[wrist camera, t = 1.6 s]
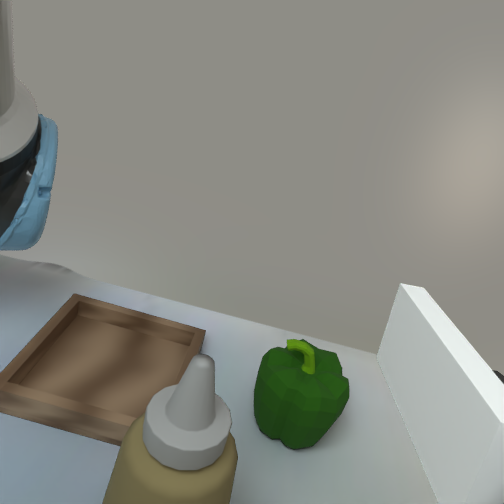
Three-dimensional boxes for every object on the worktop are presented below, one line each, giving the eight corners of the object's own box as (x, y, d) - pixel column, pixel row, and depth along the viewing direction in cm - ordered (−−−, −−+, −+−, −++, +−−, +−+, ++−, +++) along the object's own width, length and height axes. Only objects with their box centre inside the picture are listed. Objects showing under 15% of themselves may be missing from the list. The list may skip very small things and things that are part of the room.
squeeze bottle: (65, 553, 31) (88, 339, 23) (166, 489, 36) (212, 299, 28) (130, 674, 26) (188, 458, 18) (234, 579, 32) (312, 383, 24)
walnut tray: (-12, 408, 39) (-13, 386, 38) (72, 311, 52) (74, 293, 51) (161, 457, 39) (166, 436, 38) (201, 348, 52) (205, 330, 51)
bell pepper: (336, 418, 48) (370, 341, 43) (315, 479, 41) (353, 395, 36) (262, 381, 50) (288, 305, 45) (230, 433, 43) (256, 348, 38)
